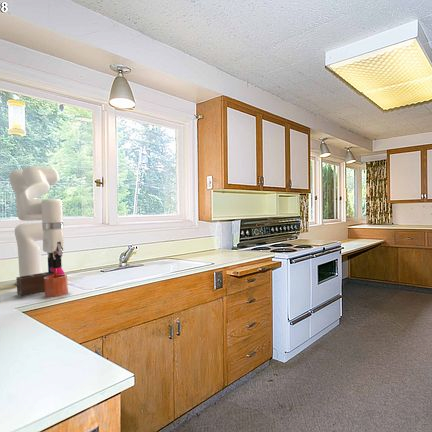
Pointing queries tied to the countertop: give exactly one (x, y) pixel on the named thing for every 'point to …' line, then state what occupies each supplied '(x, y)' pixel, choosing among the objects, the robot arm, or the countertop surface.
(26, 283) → the caddy
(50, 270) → the blue rounded rod
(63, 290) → the crock
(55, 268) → the red toy mallet
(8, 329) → the countertop surface
